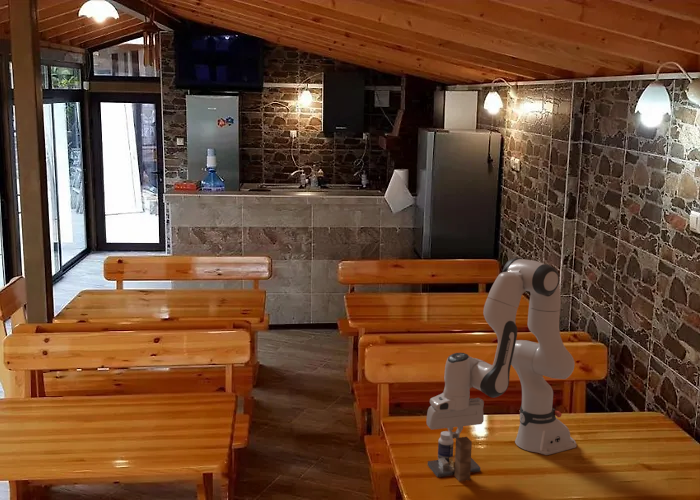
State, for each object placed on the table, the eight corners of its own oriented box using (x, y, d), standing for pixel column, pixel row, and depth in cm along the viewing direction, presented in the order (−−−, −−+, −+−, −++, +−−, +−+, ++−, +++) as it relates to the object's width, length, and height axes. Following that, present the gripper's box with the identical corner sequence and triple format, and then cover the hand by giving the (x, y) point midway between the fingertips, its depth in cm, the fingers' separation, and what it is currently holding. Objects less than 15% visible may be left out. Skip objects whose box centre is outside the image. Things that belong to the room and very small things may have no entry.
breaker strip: (469, 459, 272) (469, 450, 271) (480, 471, 263) (480, 462, 262) (427, 465, 267) (427, 456, 267) (437, 477, 259) (437, 468, 258)
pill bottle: (452, 462, 269) (453, 437, 267) (437, 461, 270) (438, 435, 268) (453, 456, 274) (454, 430, 272) (438, 454, 275) (439, 429, 273)
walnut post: (465, 474, 261) (466, 436, 258) (470, 480, 257) (471, 441, 254) (454, 475, 260) (455, 437, 257) (459, 481, 256) (460, 443, 253)
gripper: (479, 394, 266) (477, 430, 269) (425, 399, 260) (424, 436, 263) (487, 400, 260) (485, 438, 263) (432, 406, 254) (430, 444, 257)
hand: (454, 437), depth 263 cm, fingers closed
